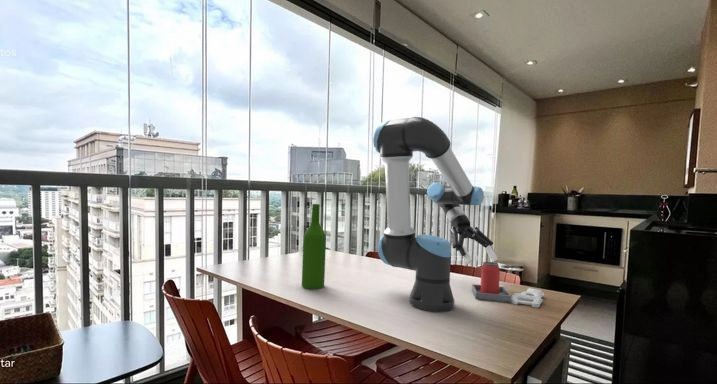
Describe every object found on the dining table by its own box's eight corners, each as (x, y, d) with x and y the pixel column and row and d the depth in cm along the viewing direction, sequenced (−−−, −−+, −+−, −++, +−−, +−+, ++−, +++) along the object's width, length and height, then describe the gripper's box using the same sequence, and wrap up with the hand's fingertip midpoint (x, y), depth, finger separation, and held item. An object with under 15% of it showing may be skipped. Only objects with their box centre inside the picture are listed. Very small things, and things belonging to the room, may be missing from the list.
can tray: (475, 299, 126) (476, 292, 126) (471, 290, 137) (472, 284, 137) (510, 302, 123) (510, 295, 123) (503, 293, 135) (503, 287, 135)
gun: (517, 283, 137) (545, 288, 132) (517, 292, 137) (545, 297, 132) (509, 297, 122) (541, 303, 117) (509, 306, 122) (540, 313, 117)
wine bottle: (315, 281, 142) (318, 203, 142) (328, 286, 135) (331, 204, 135) (297, 285, 136) (300, 203, 136) (310, 290, 129) (313, 204, 129)
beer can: (502, 295, 130) (503, 264, 130) (492, 298, 126) (493, 265, 126) (486, 291, 135) (487, 260, 135) (476, 293, 131) (478, 262, 131)
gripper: (475, 225, 156) (500, 264, 143) (431, 225, 146) (453, 268, 132) (484, 214, 152) (511, 254, 138) (439, 213, 141) (463, 257, 127)
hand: (483, 261), depth 135 cm, fingers open, 13 cm apart
